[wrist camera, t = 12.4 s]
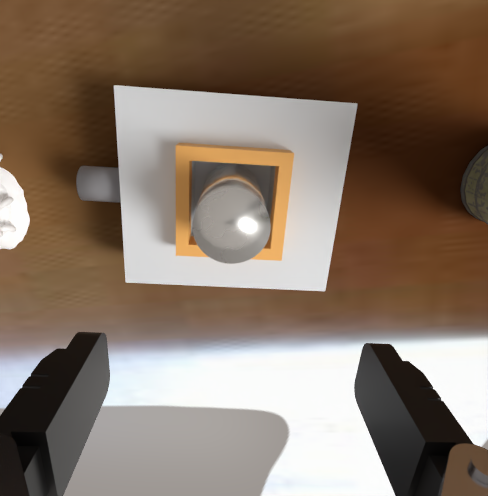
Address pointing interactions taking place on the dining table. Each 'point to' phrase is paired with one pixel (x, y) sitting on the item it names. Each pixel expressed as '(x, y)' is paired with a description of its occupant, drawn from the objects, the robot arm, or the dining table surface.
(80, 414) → the robot arm
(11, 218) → the tentacle sculpture
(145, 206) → the white square box
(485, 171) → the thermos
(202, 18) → the dining table surface
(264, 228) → the shiny metal cylinder
